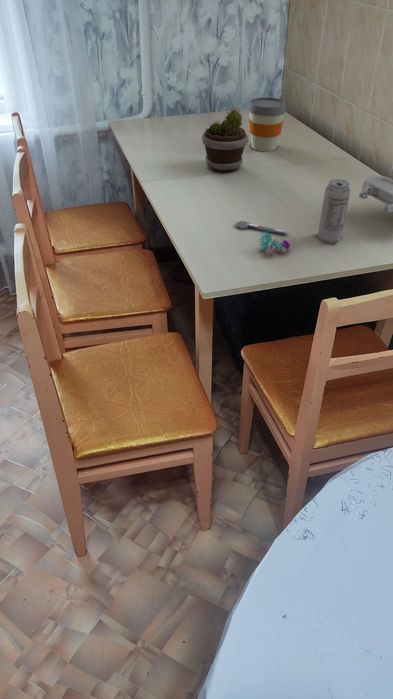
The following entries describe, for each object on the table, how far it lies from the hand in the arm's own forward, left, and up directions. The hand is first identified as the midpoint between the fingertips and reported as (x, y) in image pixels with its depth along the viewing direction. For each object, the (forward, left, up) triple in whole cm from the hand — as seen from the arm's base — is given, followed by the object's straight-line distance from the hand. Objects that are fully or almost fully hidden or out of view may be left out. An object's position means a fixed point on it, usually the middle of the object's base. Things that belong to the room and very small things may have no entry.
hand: (373, 201), depth 141 cm
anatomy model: (+19, +23, -8) cm, 31 cm away
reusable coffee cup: (+45, -48, -8) cm, 66 cm away
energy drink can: (+8, +10, -8) cm, 15 cm away
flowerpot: (+51, -24, -8) cm, 57 cm away
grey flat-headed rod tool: (+26, +13, -8) cm, 30 cm away
